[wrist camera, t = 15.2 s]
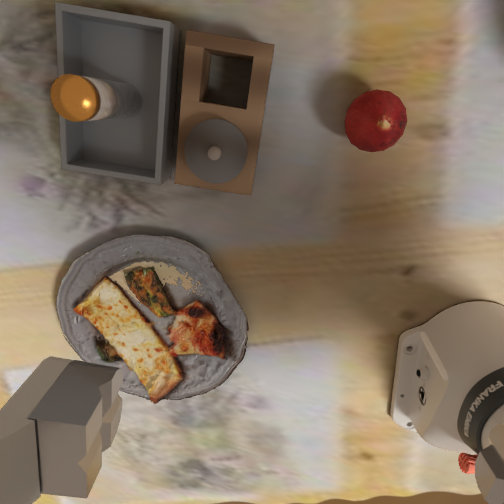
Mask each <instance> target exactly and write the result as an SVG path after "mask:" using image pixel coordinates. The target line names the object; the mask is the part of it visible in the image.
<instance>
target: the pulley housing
mask: <svg viewBox="0 0 504 504" xmlns="http://www.w3.org/2000/svg"><path fill="white" fill-rule="evenodd" d="M273 52H274V44H268V43H262V42H256V41H250V40H244V39H238V38H232V37H226V36H220V35H215V34H209V33H203V32H197V31H191V30H186V41H185V54H184V68H183V81H182V94H181V107H180V120H179V133H178V146H177V159H176V172H175V184H181V185H187V186H193V187H200V188H206V189H212V190H219V191H225V192H231V193H237V194H244V195H250V196H251V193H252V187H253V181H254V174H255V168H256V161H257V155H258V148H259V142H260V135H261V129H262V123H263V116H264V110H265V103H266V97H267V90H268V84H269V77H270V71H271V65H272V58H273ZM211 54H212V55H218V56H224V57H230V58H236V59H242V60H248V61H253V66H252V73H251V80H250V88H249V95H248V102H247V108H241V107H235V106H229V105H223V104H217V103H211V102H207V92H208V82H209V72H210V62H211Z"/></svg>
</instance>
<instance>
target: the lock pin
mask: <svg viewBox="0 0 504 504" xmlns="http://www.w3.org/2000/svg"><path fill="white" fill-rule="evenodd" d="M50 96H51V101H52V104H53V106H54V108H55V110H56V111H57V112H58V113H59V114H60V115H61V116H62V117H63V118H65V119H67V120H69V121H73V122H80V121H92V120H104V119H116V118H128V117H133V116H135V115H136V114H137V113H138V112H139V111H140V109H141V106H142V99H141V95H140V93H139V91H138V90H137V89H136V88H135V87H134V86H132V85H130V84H127V83H122V82H115V81H109V80H103V79H97V78H91V77H85V76H79V75H73V74H65V75H62V76H60V77H58V78H57V79H56V80H55V81H54V82H53V84H52V87H51V92H50Z"/></svg>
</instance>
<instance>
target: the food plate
mask: <svg viewBox="0 0 504 504" xmlns="http://www.w3.org/2000/svg"><path fill="white" fill-rule="evenodd" d="M209 258H210V256H209V254H207V253H206V252H204V251H203V250H202V249H200V248H198V247H196V246H195V245H193V244H192V243H189V242H188V241H185V240H183V239H178V238H175V237H168V236H149V235H142V234H140V235H131V236H124V237H120V238H115V239H113V240H112V239H111V241H107V242H105V243H103V244H101V245H99V246H98V247H96V248H94V249H92V250H90V251H88V252H87V253H85V254H83V255H82V256H80V257H79V258H76V259H75V260H74V261H73V263H72V264H71V265H70V268H69V269H68V271H67V274H66V275H65V276H64V278H63V279H62V281H61V285H60V287H59V291H58V295H57V311H58V313H57V314H58V317H59V319H60V323H61V329H62V331H63V333H64V334H65V336H66V337H67V338H66V337H65V336H64V337H65V339H66V340H67V339H68V340H69V341H68V340H67V341H68V343H69V344H70V343H71V344H72V345H73V346H72V345H71V344H70V346H71V347H72V348H73V347H74V348H75V349H76V350H75V349H74V348H73V349H74V351H75V352H76V353H77V354H78V355H79V356H80V358H81V359H82V360H84V362H89V363H95V364H101V365H107V366H113V367H118V368H121V369H122V370H123V384H122V386H121V388H120V391H123V392H126V393H128V394H132V395H137V396H139V397H143V398H146V399H147V400H151V402H152V401H153V402H154V404H155V403H158V402H159V401H160V400H162V399H167V400H168V399H169V400H181V399H183V398H190V397H192V396H196V395H200V394H204V393H207V392H208V391H210V390H212V389H215V388H216V387H217V386H220V385H221V384H222V383H223V382H225V380H227V379H228V378H229V376H230V375H231V373H232V372H233V371H234V370H235V368H236V367H237V365H238V364H240V362H241V361H242V360H243V358H244V355H245V352H246V348H245V346H246V342H247V339H248V337H247V331H248V329H249V328H248V322H247V317H246V314H244V313H243V311H242V308H241V307H240V305H239V304H238V302H237V301H236V299H235V297H234V295H233V293H232V292H231V290H230V288H229V287H228V286H227V284H226V283H225V281H224V280H223V278H222V276H221V274H220V273H219V272H218V270H217V269H216V268H215V267H214V264H213V263H212V262H211V261H212V260H211V258H210V259H209ZM143 261H146V262H150V261H154V262H155V263H156V262H157V263H158V262H164V263H166V264H168V265H169V266H168V267H170V266H172V265H173V266H175V267H177V268H176V270H177V271H178V272H180V274H183V275H186V273H185V272H188V274H189V275H188V276H190V277H191V278H193V279H194V281H192V280H190V281H192V282H191V284H192V285H194V286H193V290H195V288H196V287H195V285H196V284H195V283H197V287H198V288H197V290H195V291H196V293H194V294H193V293H192V291H193V290H192V289H191V288H190V289H188V290H187V291H186V290H185V289H184V288H183V287H182V283H183V282H182V280H180V278H179V277H178V281H177V280H175V281H177V282H176V283H177V284H178V286H176V285H173V284H171V286H170V285H169V283H165V286H164V287H163V284H162V283H161V281H160V280H159V277H158V276H157V274H156V271H155V270H154V266H153V267H152V268H147V269H144V268H143V267H139V268H135V269H133V271H131V272H129V273H128V274H127V273H125V276H126V278H127V284H128V286H129V288H130V290H132V292H133V293H134V294H136V297H137V298H138V299H139V301H140V302H141V303H142V304H141V305H140V303H139V302H137V301H136V300H135V299H134V298H132V297H131V296H130V295H129V294H128V293H127V291H126V290H123V288H122V287H121V286H120V285H119V284H117V283H116V282H117V281H115V282H113V281H112V280H111V278H108V276H111V275H113V274H114V273H116V272H118V271H120V270H121V269H124V268H125V267H127V266H130V265H131V264H133V263H135V262H143ZM160 267H161V265H160ZM188 276H187V277H186V278H187V279H189V278H188ZM170 277H171V276H170ZM165 278H166V277H165ZM164 280H165V279H164ZM197 281H199V282H200V283H201V285H202V286H199V283H198V282H197ZM179 282H181V283H179ZM204 287H205V288H204ZM202 289H203V290H202ZM214 290H215V291H214ZM199 291H200V292H199ZM205 292H206V293H205ZM188 293H190V294H188ZM197 294H199V295H197ZM201 294H203V297H201V296H200V295H201ZM168 296H169V297H168ZM209 298H210V299H211V300H212V301H211V300H209ZM139 305H140V306H139ZM246 347H247V346H246Z"/></svg>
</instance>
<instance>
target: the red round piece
mask: <svg viewBox="0 0 504 504" xmlns="http://www.w3.org/2000/svg"><path fill="white" fill-rule="evenodd" d="M406 123H407V115H406V108H405V106H404V105H403V103H402V102H401V100H400V98H399V97H397V96H396V95H394V94H393V93H391V92H389V91H383V90H373V91H368V92H365V93H363V94H362V95H361V96H359V97H358V98H356V99H355V100H354V101H353V102H352V104H351V105H350V107H349V108H348V110H347V113H346V117H345V131H346V134H347V136H348V138H349V140H350V142H351V144H353V145H354V146H356V147H357V148H358V149H360V150H364V151H369V152H376V151H384V150H385V149H387V148H389V147H391V146H393V145H394V144H395V143H396V142H397V141H398V139H399V138H400V137H401V136H402V135H403V132H404V129H405V126H406Z"/></svg>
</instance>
